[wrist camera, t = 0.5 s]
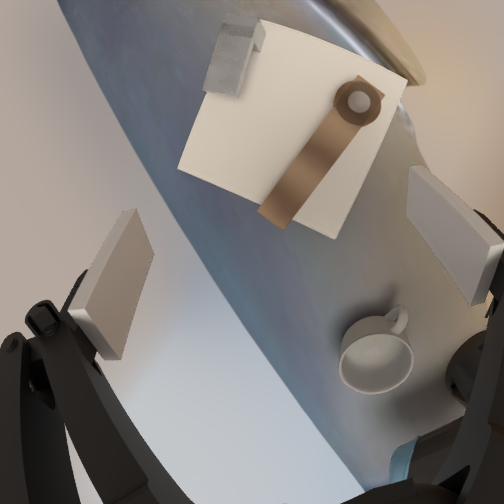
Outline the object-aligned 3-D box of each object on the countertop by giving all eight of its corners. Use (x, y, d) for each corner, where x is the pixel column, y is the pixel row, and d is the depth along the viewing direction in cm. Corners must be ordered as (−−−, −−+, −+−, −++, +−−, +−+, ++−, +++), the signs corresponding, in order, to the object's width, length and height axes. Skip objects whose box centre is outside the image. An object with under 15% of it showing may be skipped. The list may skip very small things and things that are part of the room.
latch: (349, 76, 34) (353, 68, 31) (385, 102, 34) (392, 98, 31) (255, 203, 42) (250, 208, 38) (290, 228, 42) (288, 236, 38)
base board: (404, 82, 34) (407, 80, 33) (334, 236, 43) (335, 239, 41) (245, 18, 35) (243, 14, 34) (181, 168, 44) (177, 168, 42)
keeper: (267, 37, 36) (258, 17, 29) (248, 105, 39) (235, 96, 32) (239, 32, 36) (226, 13, 29) (220, 99, 40) (202, 90, 33)
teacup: (374, 372, 48) (380, 404, 41) (323, 346, 48) (323, 378, 41) (427, 310, 43) (444, 337, 36) (376, 277, 43) (386, 301, 36)
